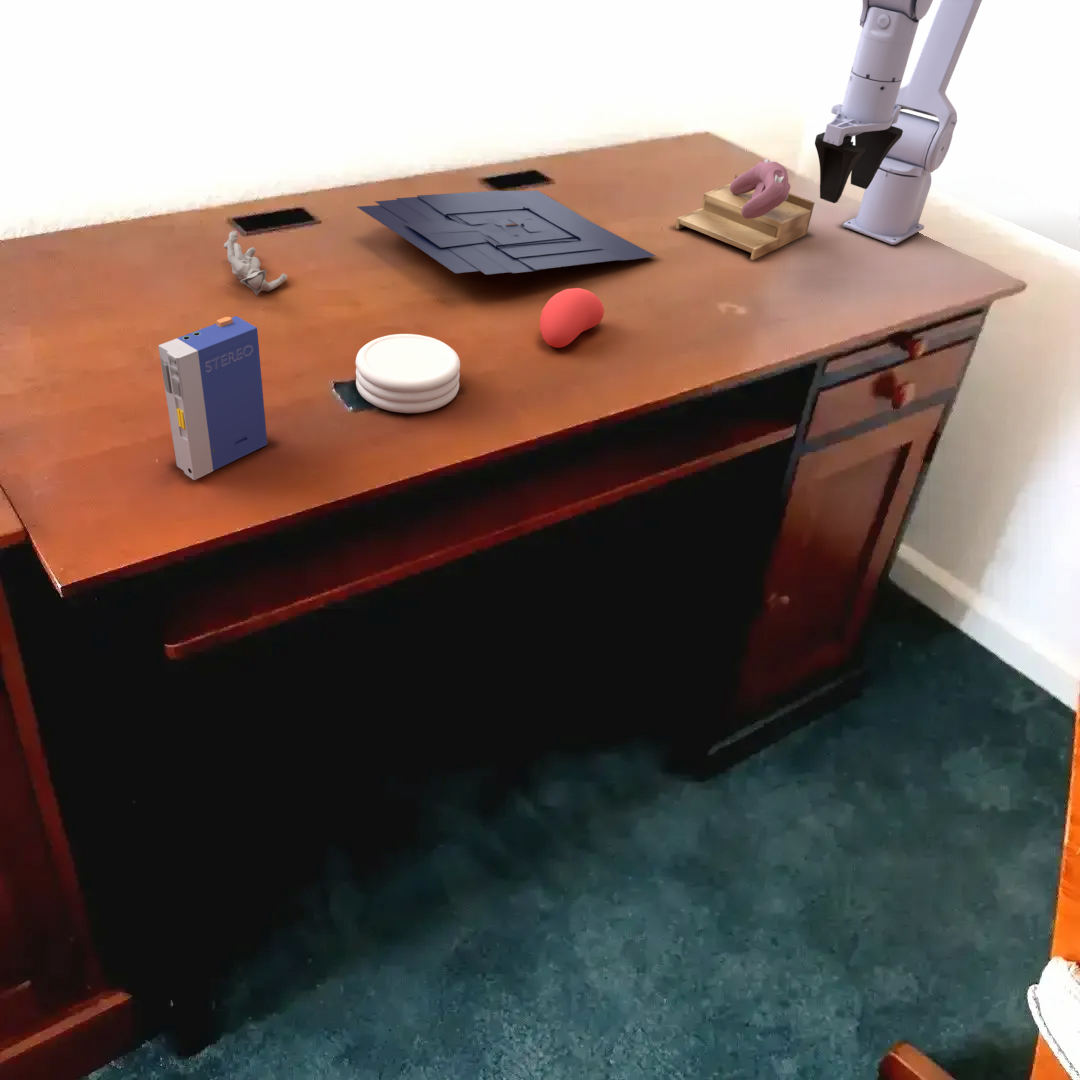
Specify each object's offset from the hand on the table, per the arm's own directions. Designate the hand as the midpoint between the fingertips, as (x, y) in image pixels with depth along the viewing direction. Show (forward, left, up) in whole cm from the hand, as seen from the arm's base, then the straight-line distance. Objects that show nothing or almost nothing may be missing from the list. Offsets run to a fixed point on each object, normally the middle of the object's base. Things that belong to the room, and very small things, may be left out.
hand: (844, 193), depth 128 cm
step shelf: (-3, -14, -10) cm, 18 cm away
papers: (+27, -30, -11) cm, 42 cm away
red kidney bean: (+38, -10, -11) cm, 41 cm away
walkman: (+79, -15, -11) cm, 81 cm away
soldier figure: (+57, -41, -11) cm, 71 cm away
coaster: (+59, -13, -11) cm, 61 cm away
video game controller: (-4, -13, -7) cm, 15 cm away
